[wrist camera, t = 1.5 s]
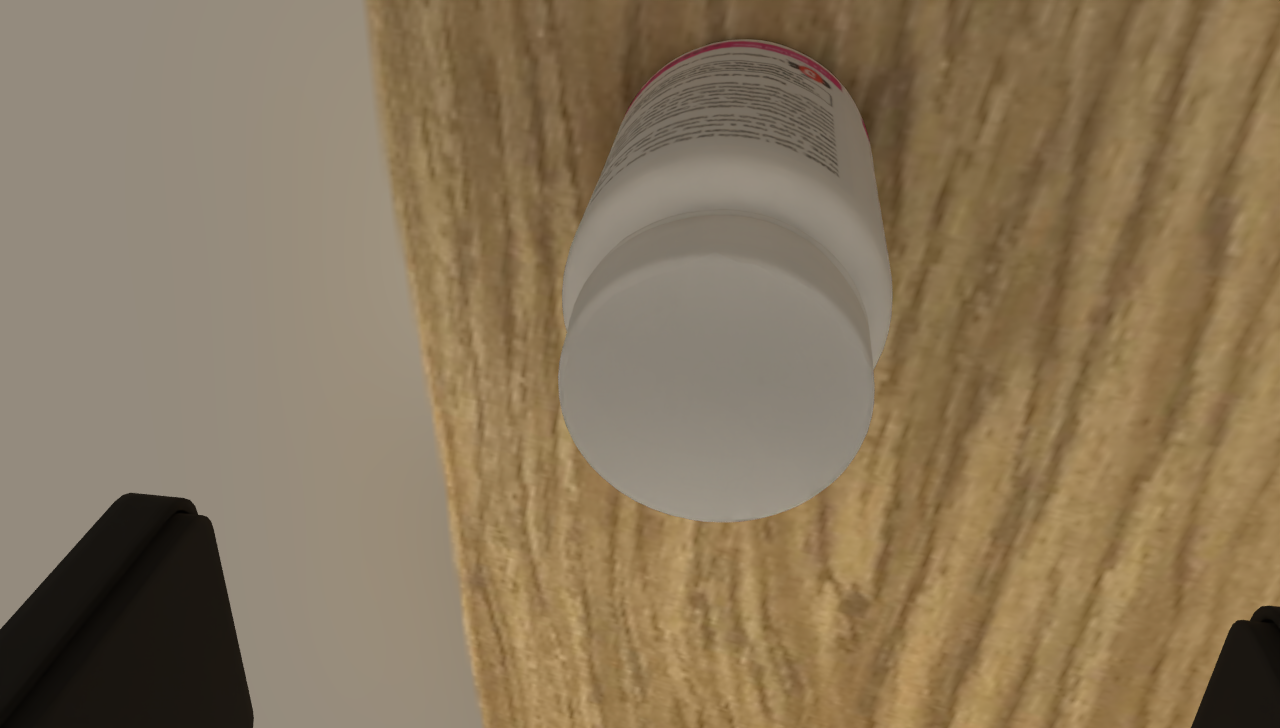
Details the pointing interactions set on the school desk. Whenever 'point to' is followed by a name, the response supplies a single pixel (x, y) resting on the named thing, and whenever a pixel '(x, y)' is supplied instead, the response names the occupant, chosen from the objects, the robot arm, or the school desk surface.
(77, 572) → the robot arm
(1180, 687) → the school desk surface
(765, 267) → the pill bottle
